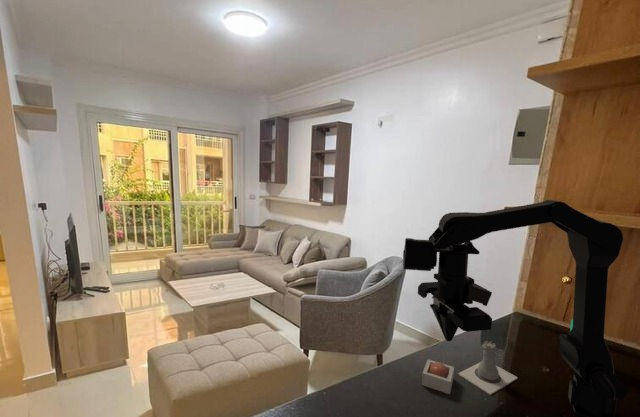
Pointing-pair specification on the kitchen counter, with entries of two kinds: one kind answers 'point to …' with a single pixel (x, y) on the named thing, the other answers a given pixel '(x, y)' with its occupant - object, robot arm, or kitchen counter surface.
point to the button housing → (438, 378)
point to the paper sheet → (484, 384)
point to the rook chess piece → (488, 362)
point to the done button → (438, 369)
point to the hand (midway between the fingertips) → (448, 340)
